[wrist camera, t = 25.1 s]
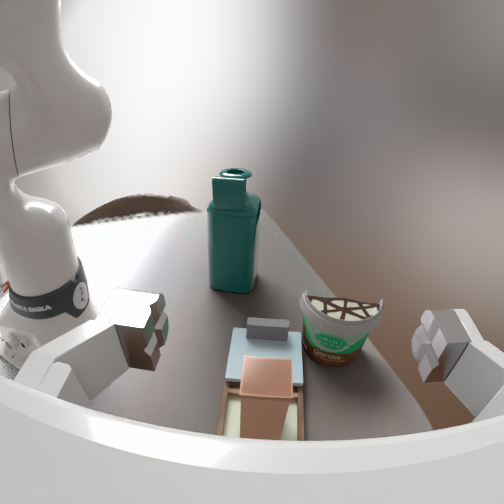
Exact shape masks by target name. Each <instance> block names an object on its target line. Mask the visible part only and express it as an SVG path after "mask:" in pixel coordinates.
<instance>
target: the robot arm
mask: <svg viewBox="0 0 504 504" xmlns="http://www.w3.org/2000/svg"><path fill="white" fill-rule="evenodd" d="M60 8H61V0H0V70H2V71H4V72H7V73H8V74H9V75H10V76H11V77H12V78H13V79H14V81H15V83H16V86H15V87H13V88H11V89H9V90H6V91H2V92H0V262H1V264H2V266H3V269H4V271H5V274H6V276H7V279H8V280H7V281H6V282H5V283H4V284H3V285H2V287H1V288H3V287H4V286H5V285H6V284H7V285H6V287H5V288H4V290H3V293H5V292H6V291H7V290H8V289H9V297H10V300H9V302H8V303H7V305H6V306H5V308H4V309H3V311H2V312H1V314H0V332H1V334H2V335H1V337H0V356H1V357H3V358H4V359H5V360H7V361H8V362H9V363H11V364H12V365H13V366H15V367H16V368H18V369H19V370H20V371H19V372H18V374H17V375H16V377H15V379H14V380H11V379H9V378H6V377H4V376H2V375H0V504H504V353H503V352H502V351H500V350H499V349H498V348H496V347H495V346H493V345H492V344H491V343H489V342H488V341H484V340H483V338H482V336H481V335H480V333H479V331H478V330H477V328H476V326H475V324H474V323H473V321H472V319H471V318H470V316H469V315H468V313H467V312H466V311H465V310H464V309H452V310H426V311H425V312H424V313H423V315H422V317H421V319H420V320H421V323H422V325H421V326H420V327H418V328H417V329H416V331H415V333H414V335H413V337H412V352H413V355H414V358H416V359H417V360H418V361H419V362H420V364H419V366H418V369H419V372H420V375H421V378H422V380H423V383H432V382H444V383H445V384H446V385H447V386H448V387H449V389H450V390H451V391H452V392H453V393H454V394H455V395H456V396H457V397H458V398H459V400H460V401H461V402H462V403H463V404H464V405H465V406H466V407H467V408H468V409H469V410H470V412H471V413H472V414H473V415H474V416H475V417H476V418H475V419H474V420H473V421H472V422H471V423H470V424H465V425H461V426H456V427H451V428H446V429H440V430H435V431H429V432H422V433H416V434H409V435H401V436H392V437H383V438H371V439H357V440H337V441H285V440H264V439H250V438H238V437H228V436H219V435H211V434H204V433H197V432H190V431H184V430H178V429H173V428H167V427H162V426H157V425H152V424H147V423H143V422H138V421H134V420H130V419H126V418H122V417H118V416H114V415H110V414H107V413H103V412H99V411H96V410H95V409H94V407H93V406H92V404H91V402H90V401H91V400H92V399H93V398H94V397H96V396H97V395H98V394H99V393H100V392H102V391H103V390H104V389H105V388H106V387H108V386H109V385H110V384H111V383H112V382H114V381H115V380H116V379H117V378H118V377H120V376H121V375H122V374H123V373H124V372H126V371H127V370H128V369H129V367H131V368H137V369H143V370H149V371H155V369H156V366H157V363H158V361H159V358H160V350H159V348H160V347H162V346H163V345H165V342H166V339H167V334H168V317H167V315H166V314H165V312H164V311H163V309H164V307H165V299H164V295H163V294H162V293H154V292H147V291H140V290H133V289H132V290H131V289H125V288H116V289H115V290H114V291H113V293H112V294H111V296H110V297H109V299H108V300H107V302H106V303H105V305H104V306H103V308H102V309H101V311H100V312H98V310H97V308H96V306H95V305H94V303H93V301H92V299H91V297H90V295H89V292H88V286H87V280H86V277H85V273H84V270H83V266H82V263H81V261H80V259H79V258H78V257H77V255H76V251H75V247H74V243H73V238H72V234H71V229H70V225H69V220H68V217H67V214H66V213H65V211H64V210H63V209H62V207H60V206H59V205H58V204H57V203H55V202H53V201H51V200H48V199H44V198H40V197H34V196H30V195H27V194H24V193H23V192H21V191H20V190H19V189H18V188H17V187H16V185H15V183H14V181H15V180H16V179H17V178H19V177H21V176H24V175H27V174H30V173H34V172H37V171H41V170H44V169H47V168H51V167H55V166H59V165H63V164H66V163H68V162H71V161H73V160H75V159H78V158H80V157H82V156H84V155H86V154H88V153H90V152H92V151H95V150H97V149H98V148H99V147H100V146H101V145H102V143H103V142H104V140H105V138H106V136H107V134H108V131H109V128H110V124H111V115H112V114H111V104H110V100H109V97H108V95H107V93H106V91H105V89H104V88H103V87H102V85H101V84H100V83H99V82H98V81H96V80H95V79H94V78H92V77H90V76H88V75H87V74H85V73H84V72H83V71H82V70H81V69H80V68H78V66H76V64H75V63H74V62H73V60H72V59H71V57H70V56H69V54H68V52H67V50H66V48H65V46H64V43H63V40H62V35H61V29H60Z"/></svg>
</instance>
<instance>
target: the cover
mask: <svg viewBox="0 0 504 504" xmlns="http://www.w3.org/2000/svg"><path fill="white" fill-rule="evenodd" d="M244 356H251V357H265V358H280V359H292V378H293V386H303V366H302V346H301V332H290V331H289V320H281V319H266V318H253V317H248V319H247V328H236V327H234V328H233V334H232V340H231V345H230V351H229V357H228V363H227V369H226V375H225V381H231V382H241V376H242V368H243V360H244Z"/></svg>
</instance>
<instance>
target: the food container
mask: <svg viewBox="0 0 504 504" xmlns="http://www.w3.org/2000/svg"><path fill="white" fill-rule="evenodd" d="M300 307H301V310H302V312H303V314H304V318H303V337H302V346H303V348H304V351H305V353H306V354H307V355H308V356H309V357H310V359H312V360H313V361H315V362H317V363H318V364H321V365H324V366H327V367H341V366H345V365H347V364H349V363H351V362H352V361H353V360H354V359H355V358H356V357H357V355H358V353H359V351H360V350H361V348H362V346H363V344H364V342H365V340H366V338H367V336H368V334H369V333H370V331H371V330H373V329H374V328H375V327H376V326H377V325H378V324H379V323H380V320H381V317H382V310H383V304H382V299H381V301H380V303H379V304H375V303H374V304H373V303H364V302H359V301H355V300H351V299H347V298H323V297H315V296H309V295H307V294H306V289H305V293H303V294H302V296H301V298H300Z"/></svg>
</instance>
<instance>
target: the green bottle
mask: <svg viewBox="0 0 504 504" xmlns="http://www.w3.org/2000/svg"><path fill="white" fill-rule="evenodd" d="M219 174H220V176H221V177H217V176H214V177H213V179H212V186H213V187H212V188H213V200H212V201H211V202H210V203H209V206H208V208H207V231H208V263H209V283H210V286H211V287H212V288H214V289H216V290H222V291H229V292H236V293H247V292H250V291H251V290H252V289H253V287H254V283H255V280H256V276H257V269H258V253H259V236H260V218H261V200H260V198H259V197H258V196H257V195H255V194H252V193H248V192H246V179H247V178H249V177H251V175H252V173H251V172H250V171H248V170H246V169H240V168H230V169H225V170H222V171H221V172H220V173H219Z"/></svg>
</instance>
